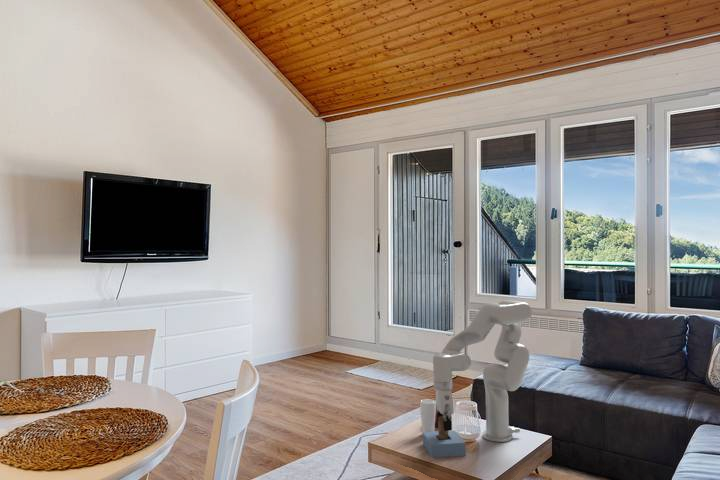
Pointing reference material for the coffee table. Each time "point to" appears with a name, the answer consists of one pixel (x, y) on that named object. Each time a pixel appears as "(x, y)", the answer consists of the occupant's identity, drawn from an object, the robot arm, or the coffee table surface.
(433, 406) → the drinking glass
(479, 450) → the coffee table surface
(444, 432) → the walnut pin
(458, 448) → the socket block
